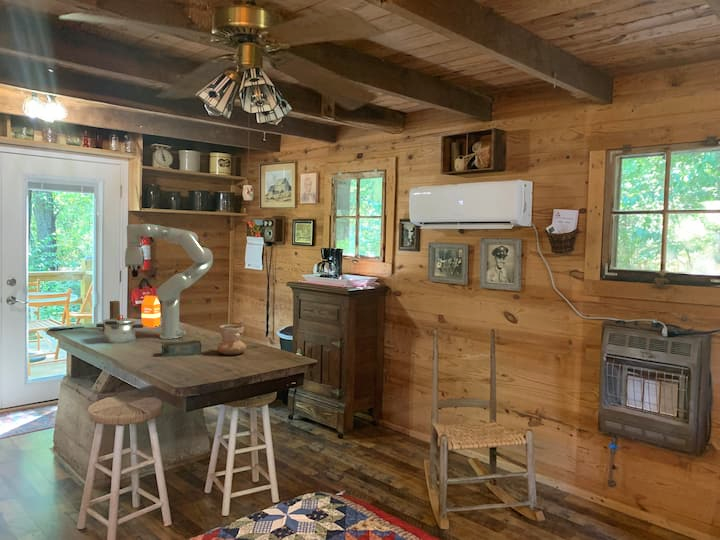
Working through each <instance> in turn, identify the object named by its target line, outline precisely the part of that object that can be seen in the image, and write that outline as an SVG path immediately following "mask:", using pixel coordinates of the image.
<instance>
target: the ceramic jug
mask: <svg viewBox="0 0 720 540" xmlns="http://www.w3.org/2000/svg"><path fill="white" fill-rule="evenodd" d="M244 331H245V326H244V325H238V324H222V325H220V326H219V332H220V335H221V338H222V339H221V340H222V342H220V343H219V344H218V345H217V347H216V348H217V352H218V353H219V354H222V355H226V356H233V355H234V356H235V355H240V354H242V353H244V352H246V349H247V345H246V344H245V343H244V342H242V341H241V338H242V336H243V333H244Z"/></svg>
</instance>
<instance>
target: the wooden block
mask: <svg viewBox="0 0 720 540" xmlns="http://www.w3.org/2000/svg"><path fill="white" fill-rule="evenodd" d="M120 309H121V306H120V301H119V300H110V301H109V319H114V318H117V316H118V315H121V313H120V312H121V310H120ZM102 324H105V323H102ZM102 331H103V332H105V330H104V327H102Z"/></svg>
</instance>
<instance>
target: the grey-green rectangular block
mask: <svg viewBox="0 0 720 540" xmlns="http://www.w3.org/2000/svg"><path fill="white" fill-rule="evenodd" d="M160 346H161V357H162V358H164V357H166V358H167V357H180V356H179V355H184V356H194V355H193V354H199V355H201V354H202V343H201V340H195V339H193V340H188V341H175V342H174V341H173V342H162V343H161V345H160Z"/></svg>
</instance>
